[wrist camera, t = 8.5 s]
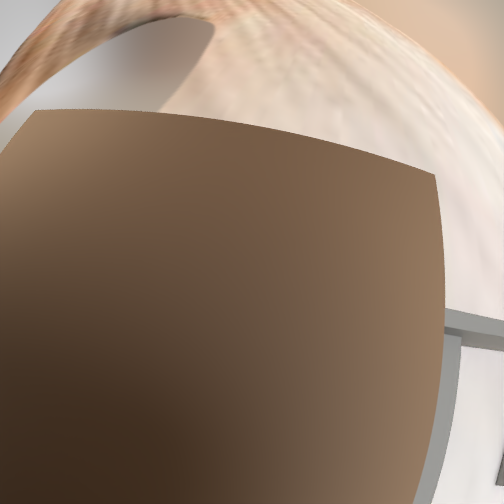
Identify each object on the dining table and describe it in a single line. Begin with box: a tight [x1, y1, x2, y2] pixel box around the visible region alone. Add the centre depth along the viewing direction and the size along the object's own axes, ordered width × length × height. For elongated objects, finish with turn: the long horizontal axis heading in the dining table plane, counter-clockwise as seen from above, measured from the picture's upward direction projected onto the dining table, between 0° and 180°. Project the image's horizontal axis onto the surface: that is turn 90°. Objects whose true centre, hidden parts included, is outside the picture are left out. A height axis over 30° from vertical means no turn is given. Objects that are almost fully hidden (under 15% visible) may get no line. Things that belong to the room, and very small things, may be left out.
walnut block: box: [0, 109, 445, 504], centre depth 8 cm, size 5×5×14 cm
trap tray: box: [413, 308, 504, 504], centre depth 15 cm, size 32×13×4 cm, turn 76°
